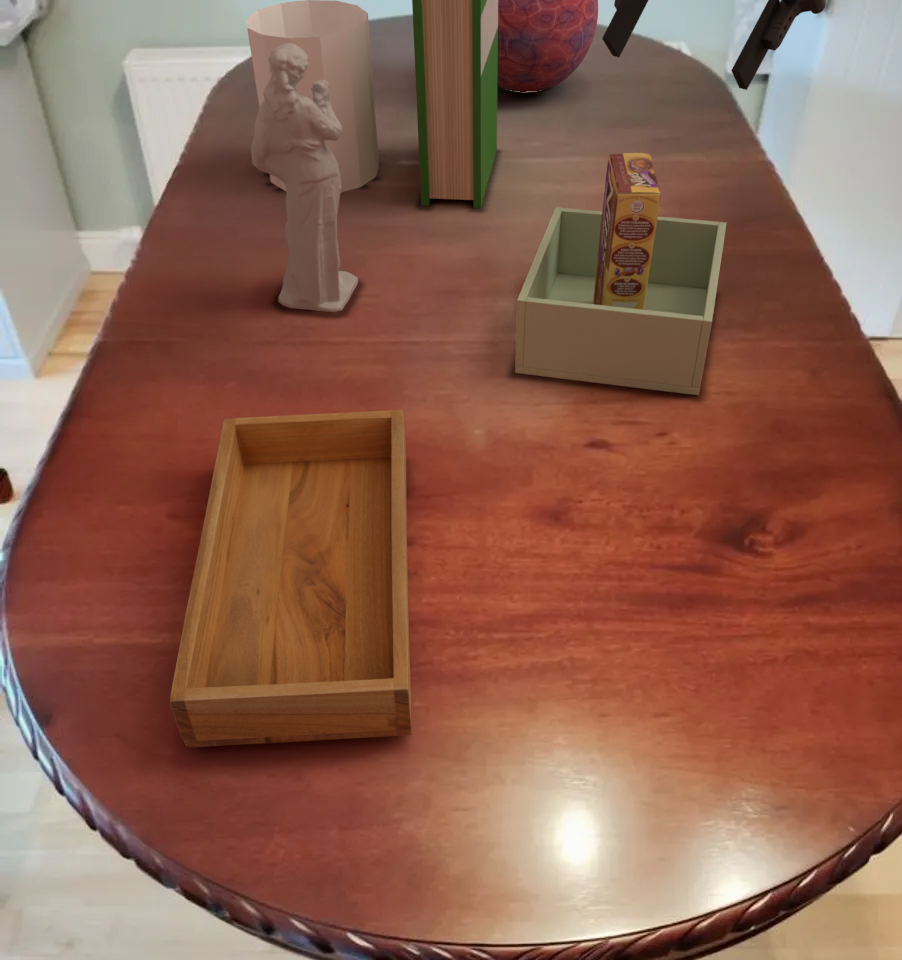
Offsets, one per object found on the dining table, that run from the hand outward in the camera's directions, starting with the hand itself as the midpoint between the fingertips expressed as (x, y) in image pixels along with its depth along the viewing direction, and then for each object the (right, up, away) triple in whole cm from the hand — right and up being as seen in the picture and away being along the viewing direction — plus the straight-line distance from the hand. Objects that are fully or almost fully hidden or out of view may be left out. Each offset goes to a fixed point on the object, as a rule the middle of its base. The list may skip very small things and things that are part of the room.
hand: (672, 64), depth 89 cm
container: (-36, +8, +42) cm, 56 cm away
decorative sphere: (-9, +29, +61) cm, 68 cm away
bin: (-3, -20, +13) cm, 24 cm away
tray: (-30, -47, -12) cm, 57 cm away
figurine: (-34, -14, +20) cm, 42 cm away
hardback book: (-18, +7, +40) cm, 45 cm away
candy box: (-3, -20, +13) cm, 24 cm away
